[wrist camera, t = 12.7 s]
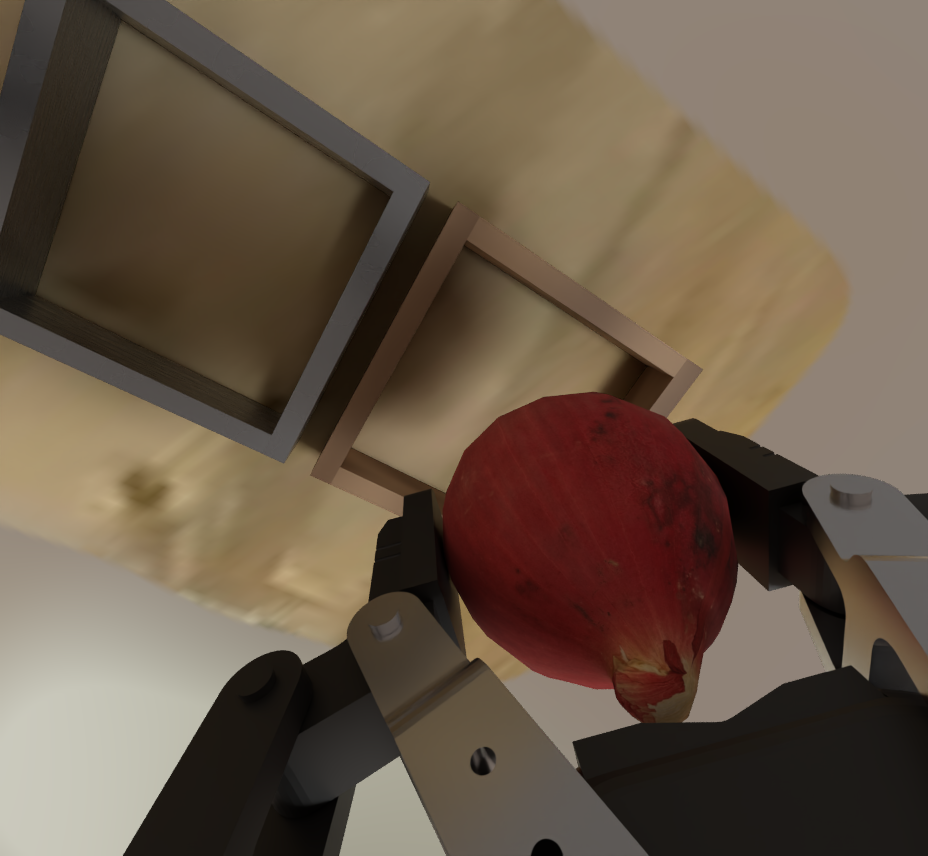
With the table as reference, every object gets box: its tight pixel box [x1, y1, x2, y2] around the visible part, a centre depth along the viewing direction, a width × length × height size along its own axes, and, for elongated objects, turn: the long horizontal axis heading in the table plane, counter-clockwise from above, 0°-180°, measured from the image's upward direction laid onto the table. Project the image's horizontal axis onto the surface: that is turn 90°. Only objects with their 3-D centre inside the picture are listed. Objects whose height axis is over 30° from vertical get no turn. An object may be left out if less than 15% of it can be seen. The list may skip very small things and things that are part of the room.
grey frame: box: [0, 0, 430, 463], centre depth 14 cm, size 11×11×2 cm
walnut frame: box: [310, 202, 703, 519], centre depth 17 cm, size 11×11×2 cm
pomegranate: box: [442, 392, 738, 723], centre depth 10 cm, size 6×6×8 cm
